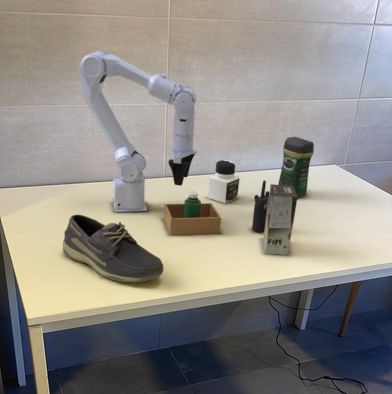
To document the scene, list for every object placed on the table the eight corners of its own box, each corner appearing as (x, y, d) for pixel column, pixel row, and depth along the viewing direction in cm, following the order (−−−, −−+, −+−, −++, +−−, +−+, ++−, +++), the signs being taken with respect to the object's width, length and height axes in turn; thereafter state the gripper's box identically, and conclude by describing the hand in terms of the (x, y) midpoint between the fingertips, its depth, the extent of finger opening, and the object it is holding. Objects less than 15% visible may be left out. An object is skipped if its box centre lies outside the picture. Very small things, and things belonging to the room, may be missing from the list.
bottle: (185, 228, 152) (186, 196, 148) (181, 221, 156) (183, 190, 151) (201, 227, 153) (203, 195, 149) (197, 221, 157) (199, 190, 152)
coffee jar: (309, 196, 183) (319, 140, 174) (294, 200, 179) (303, 143, 169) (288, 187, 189) (297, 133, 180) (273, 191, 185) (280, 136, 175)
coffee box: (288, 255, 143) (298, 197, 134) (264, 253, 143) (272, 195, 134) (285, 240, 151) (294, 185, 142) (262, 239, 150) (269, 183, 142)
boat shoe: (144, 294, 121) (145, 251, 115) (48, 257, 133) (45, 216, 128) (171, 276, 129) (173, 234, 123) (79, 242, 141) (77, 203, 136)
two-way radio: (258, 234, 153) (265, 182, 146) (245, 229, 156) (252, 178, 148) (269, 229, 157) (277, 178, 149) (257, 224, 159) (264, 174, 152)
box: (170, 235, 149) (170, 219, 147) (163, 219, 158) (163, 203, 156) (219, 233, 152) (221, 217, 150) (210, 217, 161) (211, 203, 159)
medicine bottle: (225, 203, 172) (228, 166, 166) (207, 198, 175) (210, 161, 169) (237, 198, 177) (241, 162, 171) (219, 192, 180) (223, 157, 174)
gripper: (192, 141, 145) (189, 190, 152) (201, 129, 158) (198, 174, 165) (166, 138, 146) (165, 187, 153) (178, 126, 158) (176, 172, 165)
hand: (181, 180), depth 159 cm, fingers open, 7 cm apart
